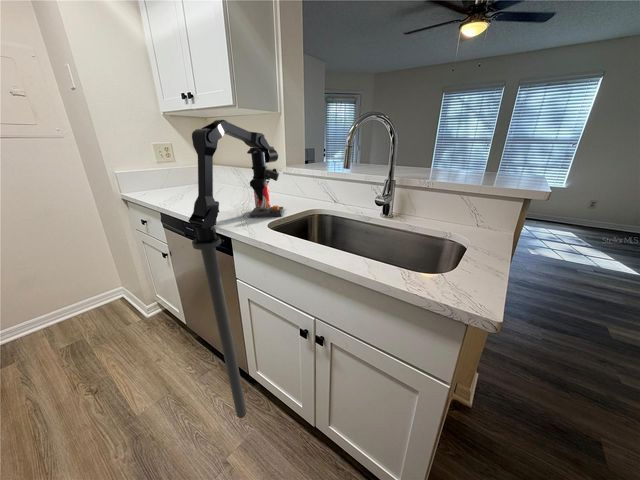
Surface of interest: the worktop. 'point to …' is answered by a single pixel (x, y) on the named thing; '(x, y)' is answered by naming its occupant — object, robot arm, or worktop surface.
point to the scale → (267, 212)
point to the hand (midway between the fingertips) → (262, 198)
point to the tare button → (275, 207)
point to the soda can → (266, 199)
